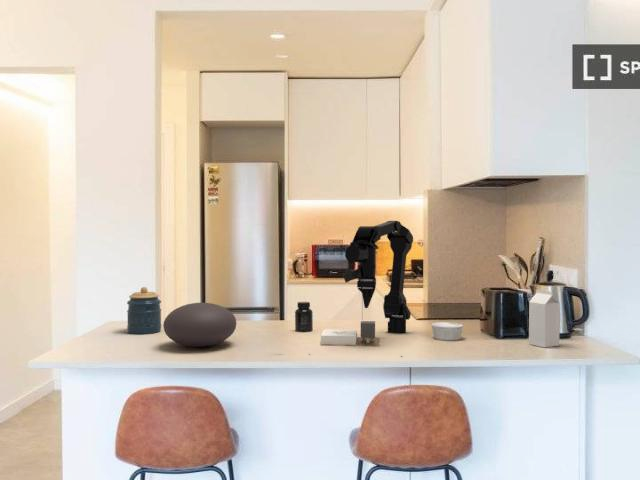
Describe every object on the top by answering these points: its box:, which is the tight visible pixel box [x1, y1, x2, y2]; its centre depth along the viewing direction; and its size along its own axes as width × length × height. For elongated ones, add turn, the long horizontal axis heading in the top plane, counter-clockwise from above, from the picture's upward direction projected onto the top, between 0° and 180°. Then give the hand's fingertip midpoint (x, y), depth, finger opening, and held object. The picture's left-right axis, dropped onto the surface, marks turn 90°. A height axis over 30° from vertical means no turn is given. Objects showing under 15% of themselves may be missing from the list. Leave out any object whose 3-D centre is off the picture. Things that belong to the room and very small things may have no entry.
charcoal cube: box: [360, 320, 376, 343], centre depth 210 cm, size 5×5×7 cm
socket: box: [320, 329, 358, 345], centre depth 211 cm, size 12×12×3 cm
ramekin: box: [431, 321, 464, 342], centre depth 222 cm, size 11×11×5 cm
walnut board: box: [319, 336, 381, 348], centre depth 211 cm, size 20×16×1 cm
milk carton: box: [528, 289, 561, 348], centre depth 209 cm, size 7×7×19 cm
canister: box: [126, 286, 162, 335], centre depth 236 cm, size 13×13×18 cm
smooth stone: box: [162, 302, 237, 348], centre depth 209 cm, size 25×25×15 cm
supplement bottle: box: [294, 301, 314, 333], centre depth 233 cm, size 7×7×12 cm
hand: (366, 306), depth 210 cm, fingers open, 9 cm apart
